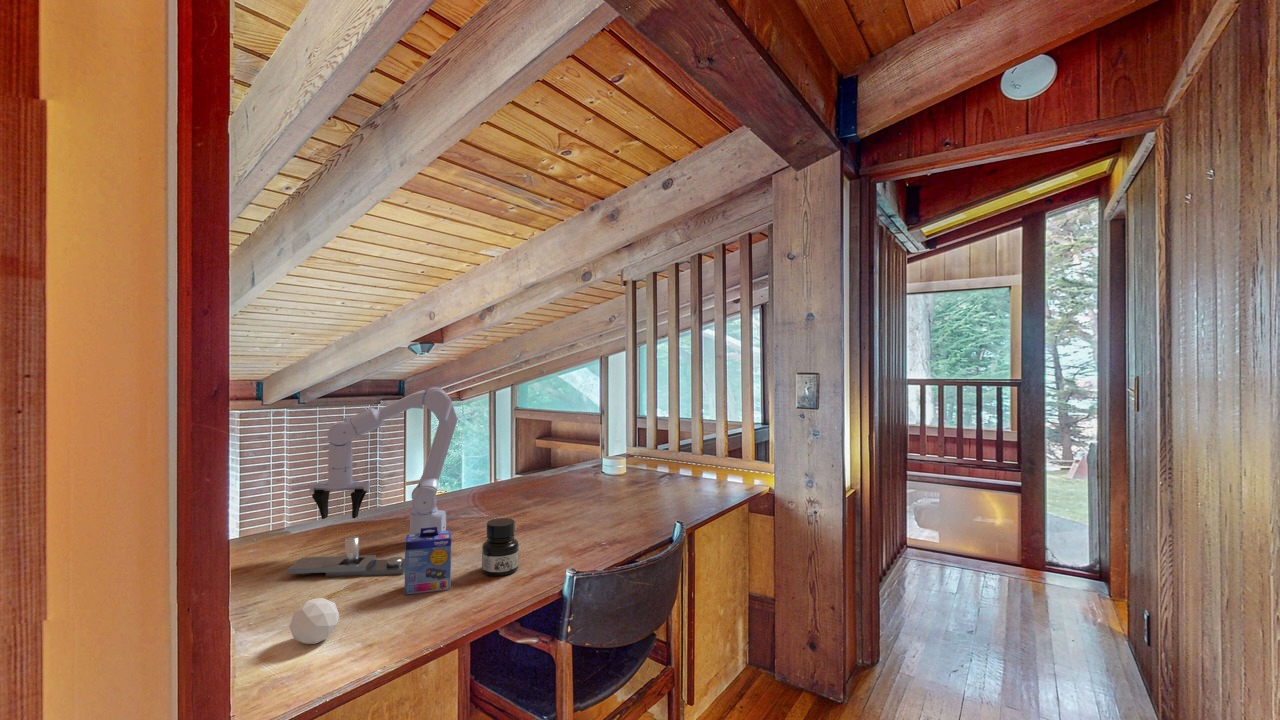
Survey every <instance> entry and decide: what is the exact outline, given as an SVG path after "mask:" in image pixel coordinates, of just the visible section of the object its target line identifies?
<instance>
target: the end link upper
mask: <svg viewBox="0 0 1280 720" xmlns="http://www.w3.org/2000/svg"><path fill="white" fill-rule="evenodd" d="M376 560H377V554H371V555H368V554H367V555H365V554H364V555H359V562H360V563H359V564H353V565H344V564H345V555H340V556H339V555H337V556H335V555H334V556H313V557H312V556H311V557H301V558H299V559H298V560H297V561H295V562H294V563H293V564H292V565H290V566H289V567H288V568H287V575H291V574H293V575H294V574H295V575H296V574H298V575H299V576H310V575H313V574H320V573H322V574H323V573H326V572H349V571H366V570H367V569H368V568H369V567H370V566H371V565H372V564H373V563H374V562H375V561H376Z"/></svg>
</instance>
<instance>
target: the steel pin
mask: <svg viewBox="0 0 1280 720" xmlns="http://www.w3.org/2000/svg"><path fill="white" fill-rule="evenodd" d="M344 540H345V541H344V556H345V565H353V564H359V556H360V536H356V535H354V536H348V537H346V538H345V539H344Z"/></svg>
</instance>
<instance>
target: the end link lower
mask: <svg viewBox="0 0 1280 720" xmlns="http://www.w3.org/2000/svg"><path fill="white" fill-rule="evenodd" d="M359 563H360V562H359ZM344 565H345V564H344ZM395 575H405V558H403V557H401V556H392V557H389V558H387V559H376V561H375V562H374V563H373V564H372V565H371V566H370V567H369V568H368V569H367V570H366V571H349V572H325V578H344V577H345V578H347V577H365V576H366V577H369V576H371V577H372V576H395Z"/></svg>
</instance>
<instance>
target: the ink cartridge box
mask: <svg viewBox="0 0 1280 720" xmlns="http://www.w3.org/2000/svg"><path fill="white" fill-rule="evenodd" d="M426 530H435V531H433V532H423V531H426ZM452 540H453V539H452V530H446V531H438V530H437V527H429V528H421V532H420V533H416V534H410V533H409V534H406V539H405V542H404V543H405V544H404V547H405V549H404V559H405V572H404V596H409V595H416V594H423V593H424V594H425V593H433V592H442V591H450V589H451V586H452V585H451V584H452V583H451V582H452V581H451V580H452Z"/></svg>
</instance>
